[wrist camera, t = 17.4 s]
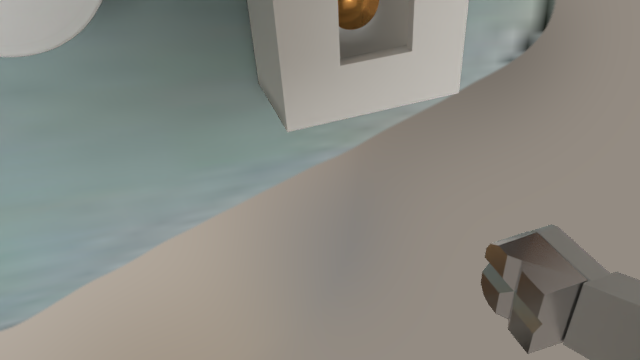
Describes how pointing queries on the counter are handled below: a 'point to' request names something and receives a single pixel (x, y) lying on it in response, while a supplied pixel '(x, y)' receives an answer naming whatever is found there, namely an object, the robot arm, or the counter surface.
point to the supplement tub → (41, 24)
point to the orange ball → (356, 13)
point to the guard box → (355, 57)
